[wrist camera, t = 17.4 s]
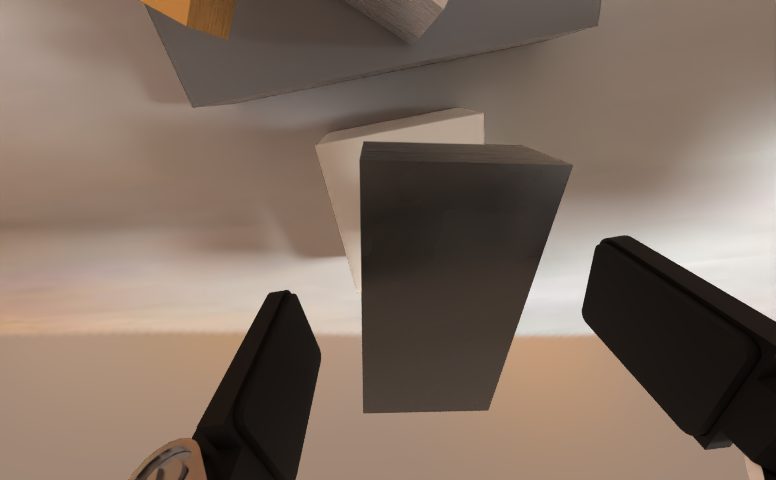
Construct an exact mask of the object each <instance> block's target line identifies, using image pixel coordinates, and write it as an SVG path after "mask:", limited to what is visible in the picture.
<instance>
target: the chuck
mask: <svg viewBox="0 0 776 480" xmlns="http://www.w3.org/2000/svg"><path fill="white" fill-rule="evenodd" d="M139 1H141V2H143V3H145V4H147V5H149V6H150V7H152V8H154V9H156V10H158V11H160V12H161V13H163V14H165V15H167V16H169V17H171V18H172V19H174V20H176V21H178V22H180V23H181V24H183V25H185V26H187V27H190V28H193V29H196V30H199V31H202V32H205V33H208V34H211V35H214V36H217V37H220V38H223V39H226V40H228V36H229V31H230V27H231V22H232V17H233V12H234V8H235V3H236V0H139ZM343 1H345V2H346V3H348V4H349V5H351V6H352V7H354V8H355V9H357V10H358V11H360V12H361V13H363V14H365V15H366V16H368V17H369V18H371V19H372V20H374V21H375V22H377V23H378V24H380V25H381V26H383V27H384V28H386V29H387V30H389V31H390V32H392V33H394V34H395V35H397V36H398V37H400V38H401V39H403V40H404V41H406V42H407V43H409V44H410V45H412V46H413V45H414V43H415V42H416V41H417V40H418V39H419V38H420V36H421V35H422V34H423V33H424V32H425V31H426V30H427V28H428V27H429V26H430V25H431V24H432V23H433V21H434V20H435V19H436V18H437V17H438V16H439V14H440V13H441V12H442V11H443V10H444V8H445V6H446V4H447V2H448V0H343Z"/></svg>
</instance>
